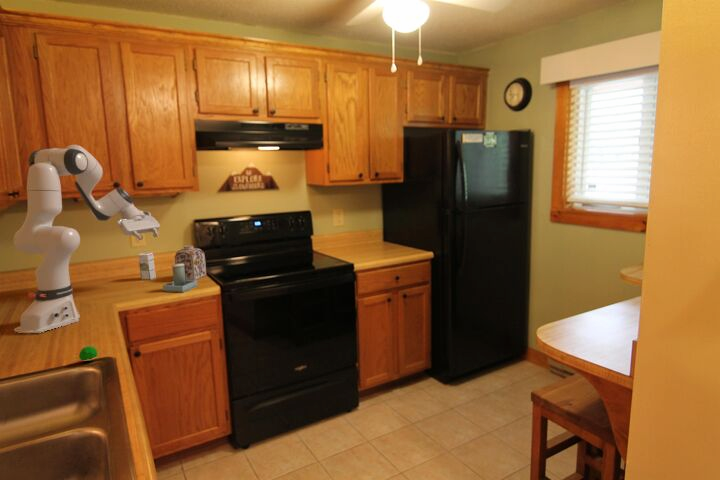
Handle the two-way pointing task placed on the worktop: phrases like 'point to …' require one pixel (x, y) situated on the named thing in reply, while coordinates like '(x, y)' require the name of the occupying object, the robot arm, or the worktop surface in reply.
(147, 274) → the syrup box
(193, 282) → the dish
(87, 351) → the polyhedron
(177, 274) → the tea tin
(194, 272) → the decorative jar
